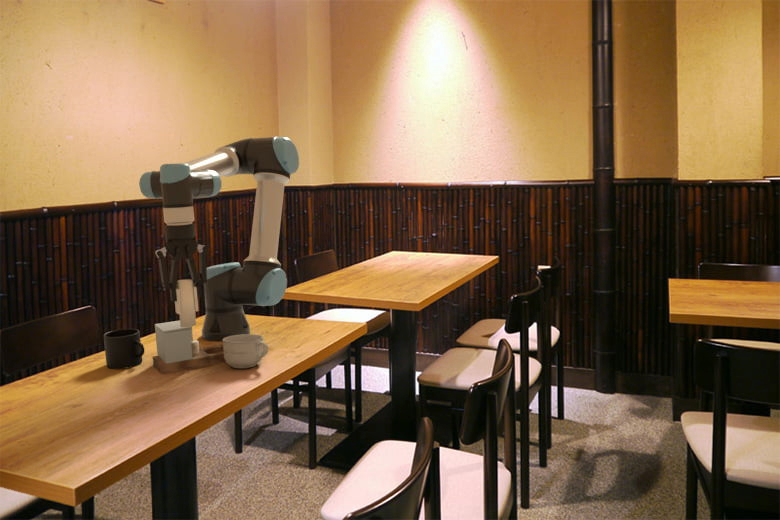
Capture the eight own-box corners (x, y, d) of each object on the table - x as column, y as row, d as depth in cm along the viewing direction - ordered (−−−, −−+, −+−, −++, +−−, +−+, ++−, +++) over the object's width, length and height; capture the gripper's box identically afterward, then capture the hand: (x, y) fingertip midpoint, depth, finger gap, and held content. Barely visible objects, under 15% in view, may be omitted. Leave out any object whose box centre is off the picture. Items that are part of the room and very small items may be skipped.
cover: (184, 350, 191) (182, 319, 190) (194, 358, 183) (191, 326, 181) (157, 355, 187) (154, 324, 186) (166, 363, 179) (163, 331, 178)
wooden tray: (222, 352, 197) (220, 332, 196) (233, 360, 189) (231, 339, 188) (153, 365, 187) (151, 344, 186) (162, 374, 179) (160, 352, 178)
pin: (193, 322, 181) (189, 278, 179) (198, 325, 177) (194, 280, 176) (178, 325, 179) (174, 280, 177) (182, 328, 175) (178, 282, 173)
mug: (133, 371, 182) (130, 338, 181) (99, 367, 186) (95, 336, 185) (157, 361, 191) (154, 330, 190) (123, 358, 195) (120, 327, 194)
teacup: (216, 366, 183) (214, 338, 182) (249, 357, 191) (247, 330, 190) (246, 376, 174) (244, 346, 173) (280, 366, 182) (278, 337, 181)
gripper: (206, 219, 182) (213, 304, 185) (142, 225, 173) (150, 314, 176) (216, 221, 175) (222, 309, 179) (149, 227, 166) (158, 319, 170)
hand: (187, 311), depth 177 cm, fingers closed on pin, 4 cm apart
